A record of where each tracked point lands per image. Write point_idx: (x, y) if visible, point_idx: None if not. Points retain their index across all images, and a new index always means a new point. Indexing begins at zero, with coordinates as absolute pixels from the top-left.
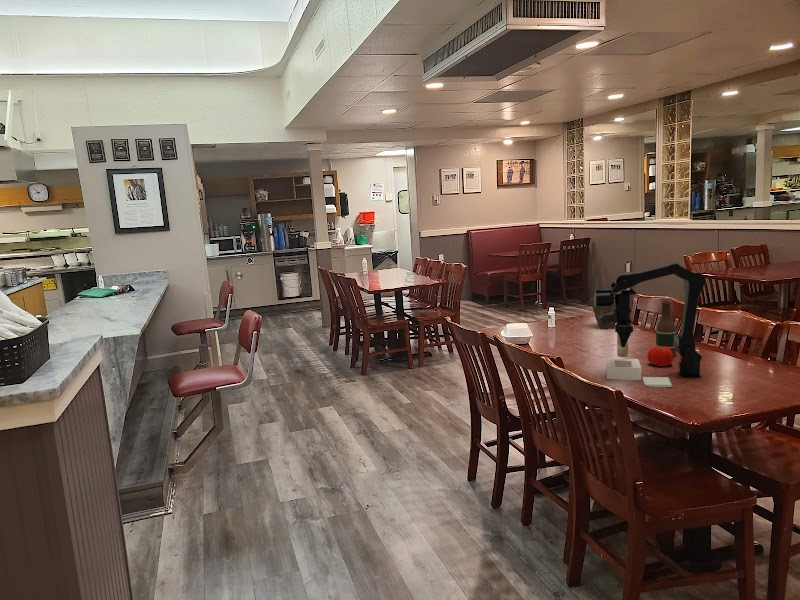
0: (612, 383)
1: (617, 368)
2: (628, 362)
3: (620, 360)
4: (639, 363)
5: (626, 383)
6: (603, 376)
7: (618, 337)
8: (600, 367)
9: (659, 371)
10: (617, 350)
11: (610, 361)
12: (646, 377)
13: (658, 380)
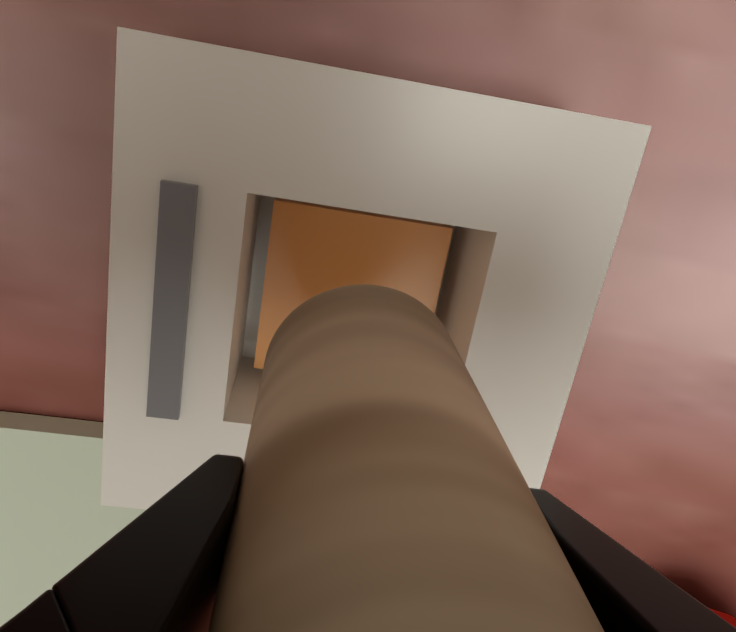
0: (8, 73)
1: (119, 196)
2: None
3: (499, 322)
4: None
5: (27, 244)
6: (322, 21)
7: (291, 587)
8: (729, 73)
9: None
10: (352, 325)
11: (469, 161)
12: None
13: (60, 559)
